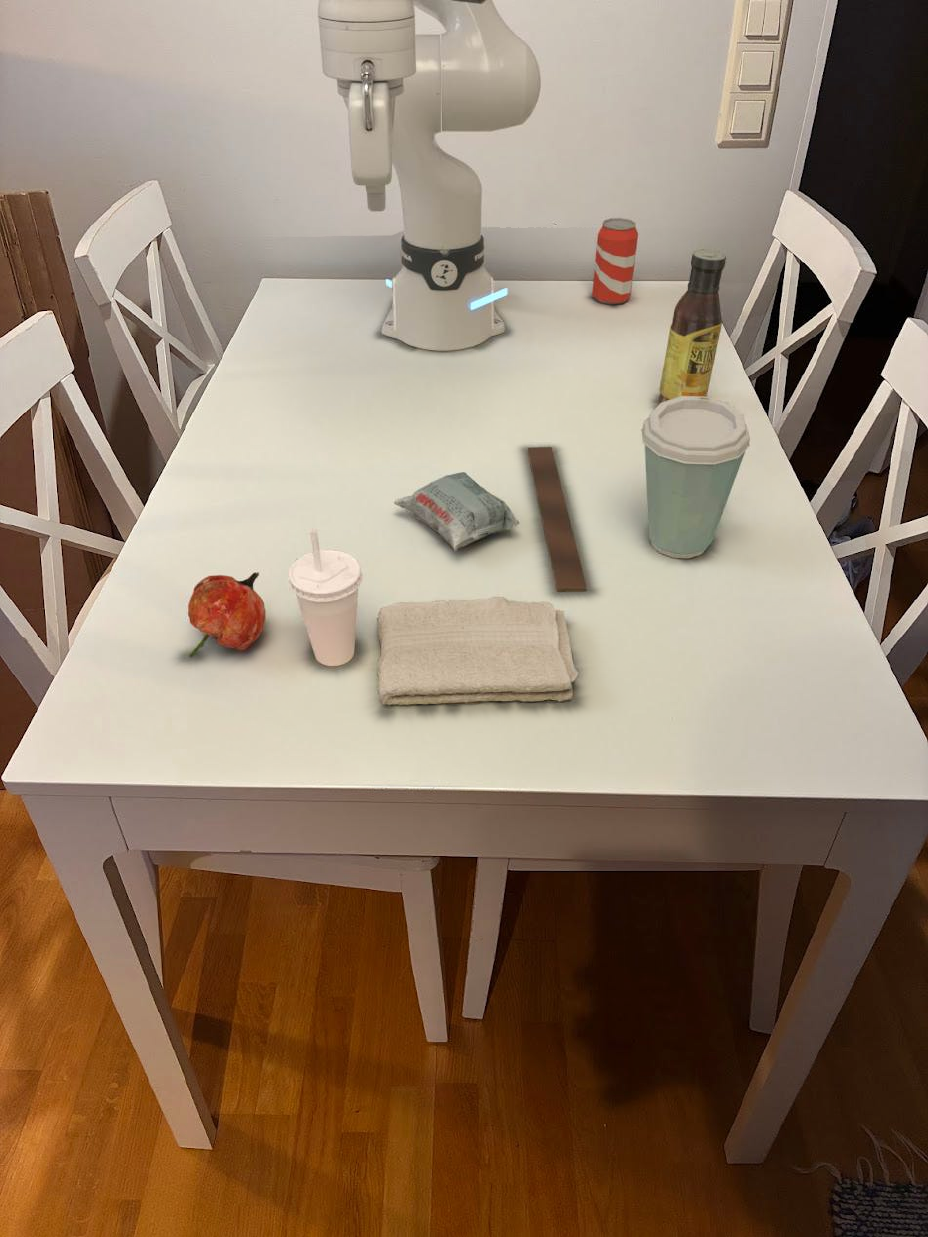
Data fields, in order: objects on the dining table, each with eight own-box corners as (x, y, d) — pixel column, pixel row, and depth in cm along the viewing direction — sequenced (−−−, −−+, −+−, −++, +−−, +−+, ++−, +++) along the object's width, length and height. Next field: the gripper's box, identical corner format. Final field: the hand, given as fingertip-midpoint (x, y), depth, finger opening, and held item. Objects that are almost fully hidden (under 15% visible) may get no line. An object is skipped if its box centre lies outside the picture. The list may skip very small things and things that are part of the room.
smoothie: (292, 640, 88) (273, 517, 79) (356, 623, 90) (345, 501, 81) (311, 684, 84) (293, 559, 75) (378, 665, 86) (368, 541, 77)
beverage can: (620, 309, 150) (629, 232, 142) (585, 300, 152) (591, 224, 144) (636, 297, 153) (646, 221, 146) (601, 289, 156) (609, 214, 148)
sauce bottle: (684, 421, 121) (711, 268, 109) (647, 404, 125) (669, 253, 112) (715, 405, 125) (745, 255, 112) (678, 389, 128) (703, 242, 115)
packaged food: (454, 567, 97) (455, 528, 94) (393, 516, 104) (392, 477, 101) (520, 540, 101) (522, 502, 98) (456, 492, 108) (457, 455, 105)
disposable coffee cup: (718, 580, 96) (747, 452, 86) (615, 558, 99) (632, 432, 89) (732, 525, 103) (760, 402, 94) (637, 506, 106) (654, 384, 96)
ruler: (527, 450, 116) (527, 447, 115) (551, 450, 116) (551, 446, 115) (556, 591, 94) (557, 588, 94) (586, 590, 94) (586, 587, 94)
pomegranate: (226, 693, 86) (299, 616, 85) (163, 657, 81) (239, 575, 80) (209, 651, 92) (278, 578, 91) (149, 614, 87) (221, 537, 86)
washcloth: (581, 704, 82) (584, 678, 80) (377, 713, 81) (375, 687, 79) (561, 617, 91) (563, 592, 89) (377, 624, 90) (375, 599, 88)
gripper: (402, 73, 79) (408, 240, 88) (402, 33, 95) (406, 178, 104) (328, 74, 79) (341, 241, 88) (339, 33, 94) (350, 179, 103)
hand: (377, 207), depth 96 cm, fingers closed
